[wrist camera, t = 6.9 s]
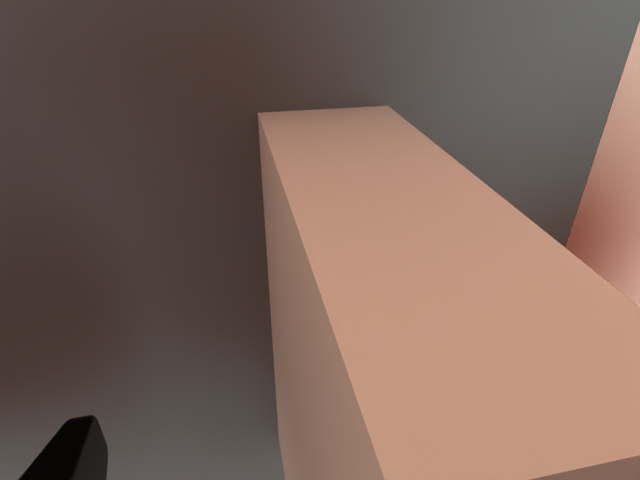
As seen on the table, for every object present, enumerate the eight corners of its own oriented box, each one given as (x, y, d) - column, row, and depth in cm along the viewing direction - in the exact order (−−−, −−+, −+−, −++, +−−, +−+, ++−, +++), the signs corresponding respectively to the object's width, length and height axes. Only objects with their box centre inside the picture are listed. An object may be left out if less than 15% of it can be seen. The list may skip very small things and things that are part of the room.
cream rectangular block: (367, 422, 13) (496, 789, 7) (278, 438, 13) (341, 843, 7) (395, 105, 9) (804, 419, 3) (257, 112, 8) (395, 508, 2)
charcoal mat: (478, 467, 17) (487, 482, 16) (-159, 600, 13) (-173, 625, 13) (656, -116, 8) (686, -121, 8) (-1078, -189, 5) (-1237, -207, 4)
